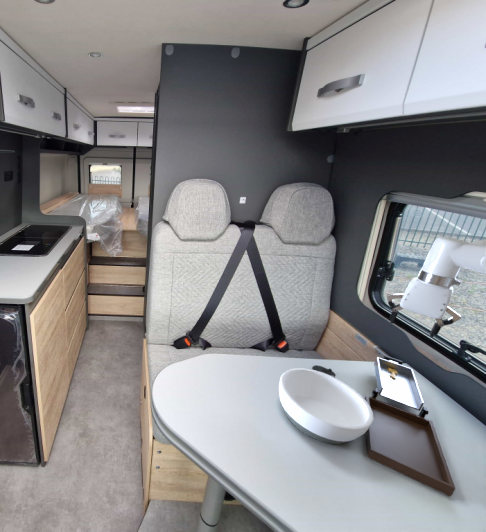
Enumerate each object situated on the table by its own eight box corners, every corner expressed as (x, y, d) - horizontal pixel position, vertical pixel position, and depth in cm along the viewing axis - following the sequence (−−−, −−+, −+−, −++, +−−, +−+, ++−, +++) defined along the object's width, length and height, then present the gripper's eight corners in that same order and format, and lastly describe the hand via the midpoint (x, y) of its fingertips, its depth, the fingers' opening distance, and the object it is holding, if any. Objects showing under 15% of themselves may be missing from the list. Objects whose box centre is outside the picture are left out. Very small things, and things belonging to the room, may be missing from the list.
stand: (367, 399, 97) (373, 387, 95) (421, 421, 90) (428, 408, 88) (368, 403, 95) (374, 390, 94) (422, 425, 89) (429, 412, 87)
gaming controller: (311, 365, 109) (328, 360, 106) (319, 378, 109) (337, 373, 106) (310, 380, 101) (329, 375, 98) (319, 394, 101) (338, 390, 98)
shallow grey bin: (373, 359, 112) (376, 351, 111) (407, 370, 107) (411, 363, 106) (378, 394, 94) (382, 386, 93) (419, 411, 89) (424, 402, 88)
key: (387, 368, 107) (388, 367, 107) (396, 371, 106) (396, 370, 105) (389, 377, 102) (390, 376, 102) (398, 380, 101) (399, 379, 101)
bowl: (278, 437, 80) (287, 412, 77) (269, 381, 101) (275, 360, 98) (377, 466, 75) (390, 441, 72) (346, 401, 95) (355, 379, 92)
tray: (363, 401, 96) (366, 394, 95) (428, 427, 88) (432, 421, 87) (367, 456, 77) (370, 449, 76) (450, 496, 69) (455, 488, 68)
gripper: (475, 286, 88) (447, 336, 94) (399, 267, 99) (379, 313, 105) (477, 292, 83) (448, 345, 89) (397, 272, 94) (376, 320, 100)
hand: (411, 328), depth 97 cm, fingers open, 9 cm apart
